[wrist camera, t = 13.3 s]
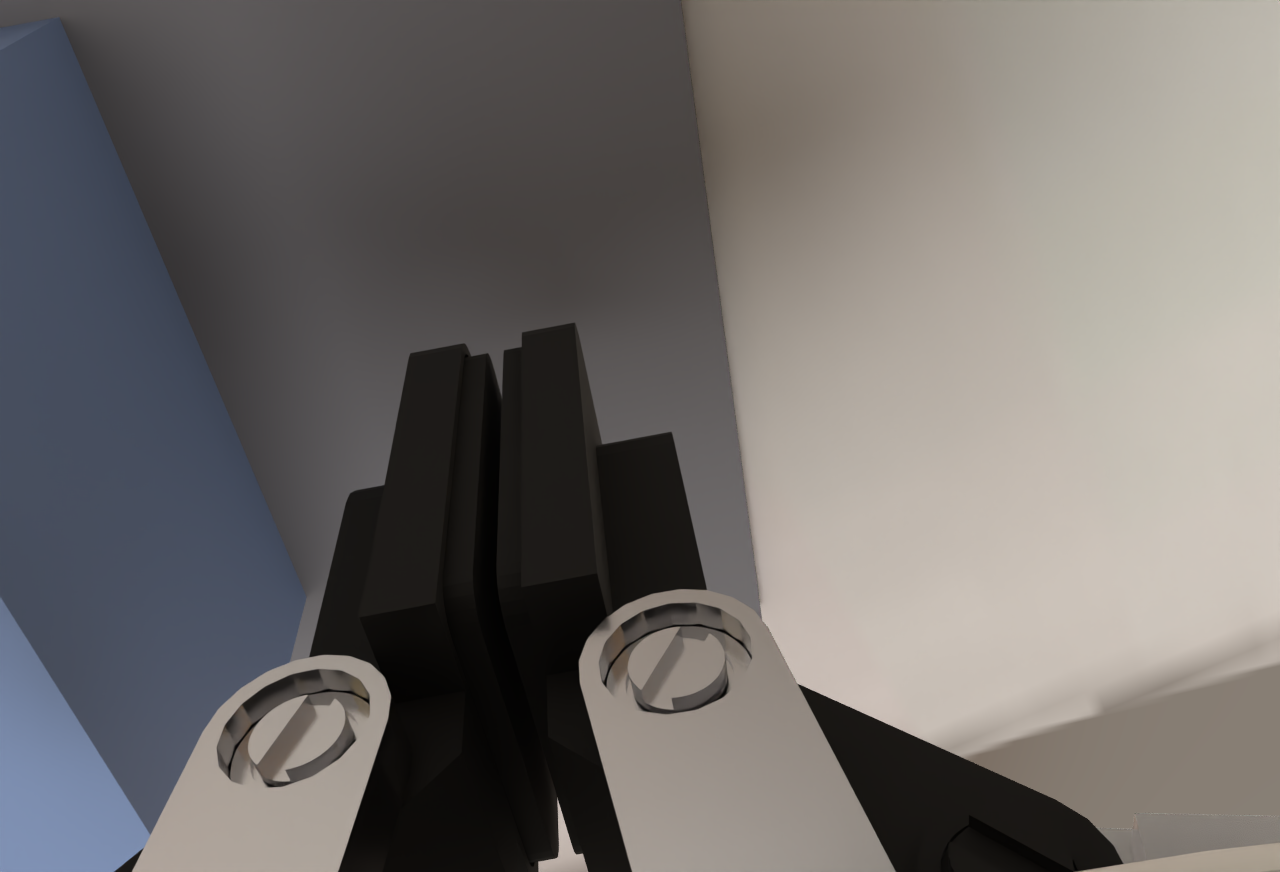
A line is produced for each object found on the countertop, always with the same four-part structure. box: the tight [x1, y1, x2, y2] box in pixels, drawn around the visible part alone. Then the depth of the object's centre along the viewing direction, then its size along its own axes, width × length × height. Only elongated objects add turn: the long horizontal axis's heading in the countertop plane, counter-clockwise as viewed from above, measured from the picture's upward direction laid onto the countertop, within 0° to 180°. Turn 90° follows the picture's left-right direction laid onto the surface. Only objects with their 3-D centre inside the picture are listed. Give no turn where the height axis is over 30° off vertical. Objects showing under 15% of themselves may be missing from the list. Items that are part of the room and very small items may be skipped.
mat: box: [0, 0, 762, 662], centre depth 15 cm, size 16×14×1 cm
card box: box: [0, 17, 307, 872], centre depth 12 cm, size 9×2×6 cm, turn 9°
